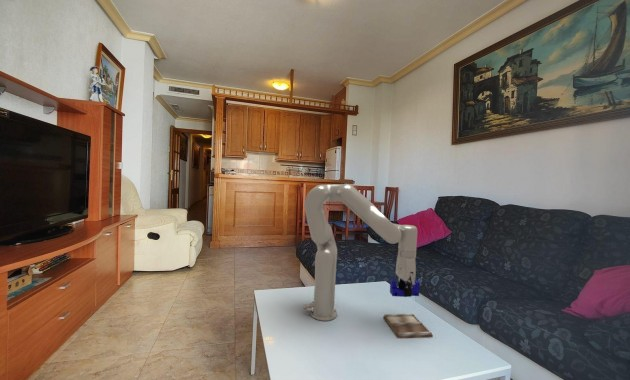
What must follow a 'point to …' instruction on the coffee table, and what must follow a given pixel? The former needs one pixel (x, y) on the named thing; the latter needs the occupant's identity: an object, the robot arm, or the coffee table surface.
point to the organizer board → (406, 326)
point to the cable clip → (400, 292)
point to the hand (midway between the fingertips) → (404, 293)
